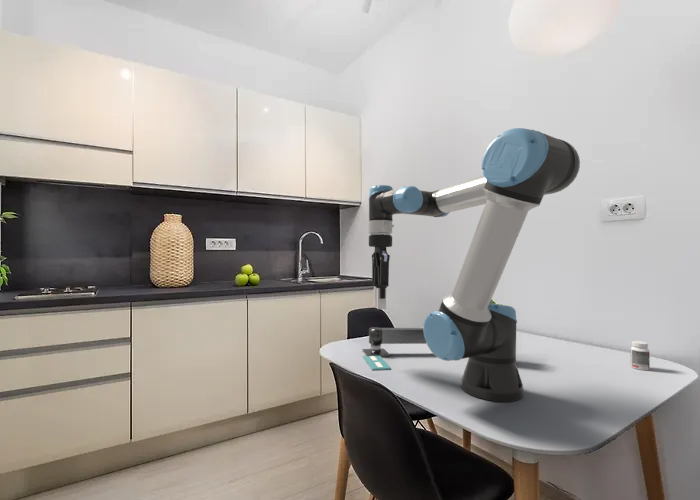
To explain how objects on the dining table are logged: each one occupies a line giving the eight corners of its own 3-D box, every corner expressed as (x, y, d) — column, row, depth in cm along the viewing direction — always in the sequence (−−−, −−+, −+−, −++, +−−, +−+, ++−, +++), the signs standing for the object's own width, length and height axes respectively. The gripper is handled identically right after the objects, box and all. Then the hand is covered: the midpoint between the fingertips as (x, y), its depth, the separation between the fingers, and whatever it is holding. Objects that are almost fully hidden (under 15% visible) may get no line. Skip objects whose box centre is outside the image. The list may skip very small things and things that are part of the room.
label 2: (390, 369, 112) (391, 367, 112) (372, 370, 111) (372, 368, 111) (384, 362, 118) (384, 360, 118) (367, 363, 117) (367, 361, 117)
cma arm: (432, 340, 133) (432, 327, 133) (436, 344, 128) (437, 330, 128) (368, 341, 131) (368, 327, 131) (369, 344, 126) (369, 330, 126)
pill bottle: (653, 371, 113) (653, 344, 113) (635, 370, 114) (636, 343, 114) (644, 366, 118) (644, 340, 118) (627, 365, 119) (627, 340, 119)
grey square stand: (389, 356, 125) (389, 345, 126) (367, 357, 124) (367, 346, 124) (383, 350, 133) (383, 340, 133) (362, 351, 132) (362, 340, 132)
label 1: (384, 362, 118) (384, 360, 118) (367, 363, 117) (367, 361, 117) (379, 356, 125) (379, 354, 125) (362, 357, 124) (362, 355, 124)
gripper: (399, 233, 107) (398, 311, 107) (384, 236, 124) (384, 304, 124) (375, 232, 106) (374, 312, 106) (363, 235, 123) (362, 304, 123)
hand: (379, 307), depth 115 cm, fingers open, 4 cm apart
